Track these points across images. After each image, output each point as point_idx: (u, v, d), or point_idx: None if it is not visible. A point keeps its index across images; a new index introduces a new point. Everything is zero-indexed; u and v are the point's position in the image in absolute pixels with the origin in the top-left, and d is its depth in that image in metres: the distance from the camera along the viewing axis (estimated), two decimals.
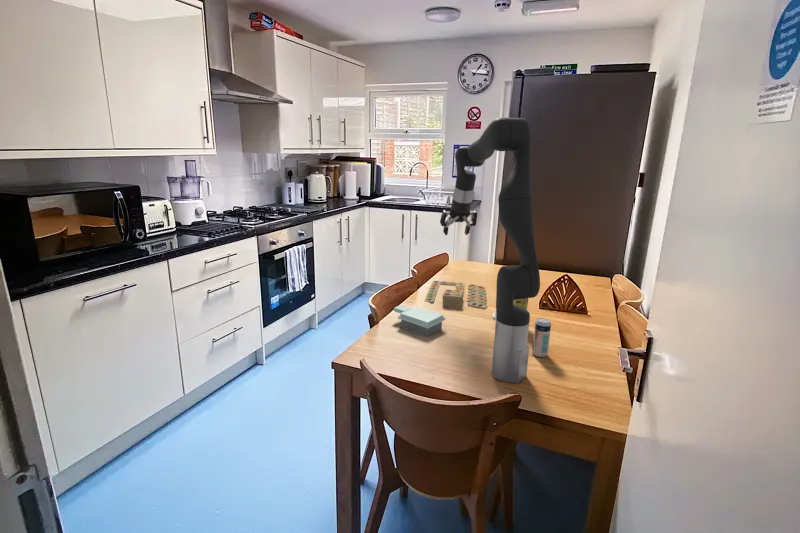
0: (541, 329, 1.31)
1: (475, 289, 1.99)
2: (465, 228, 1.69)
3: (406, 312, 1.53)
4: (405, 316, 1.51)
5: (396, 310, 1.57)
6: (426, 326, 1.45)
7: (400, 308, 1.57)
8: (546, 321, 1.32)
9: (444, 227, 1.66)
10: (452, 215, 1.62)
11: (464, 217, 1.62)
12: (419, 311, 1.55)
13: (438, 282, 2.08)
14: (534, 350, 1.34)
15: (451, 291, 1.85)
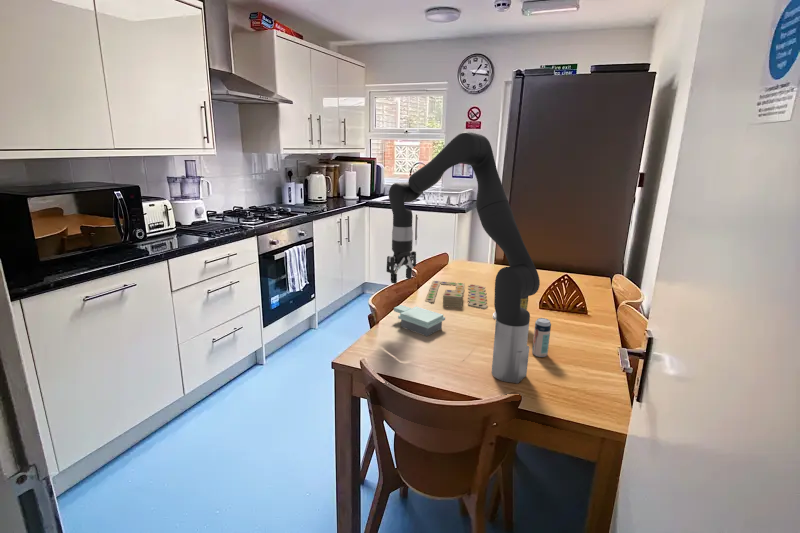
0: (541, 329, 1.31)
1: (475, 289, 1.99)
2: (406, 272, 1.58)
3: (406, 312, 1.53)
4: (405, 316, 1.51)
5: (396, 310, 1.57)
6: (426, 326, 1.45)
7: (400, 308, 1.57)
8: (546, 321, 1.32)
9: (391, 275, 1.51)
10: (398, 258, 1.50)
11: (408, 258, 1.53)
12: (419, 311, 1.55)
13: (438, 282, 2.08)
14: (534, 350, 1.34)
15: (451, 291, 1.85)
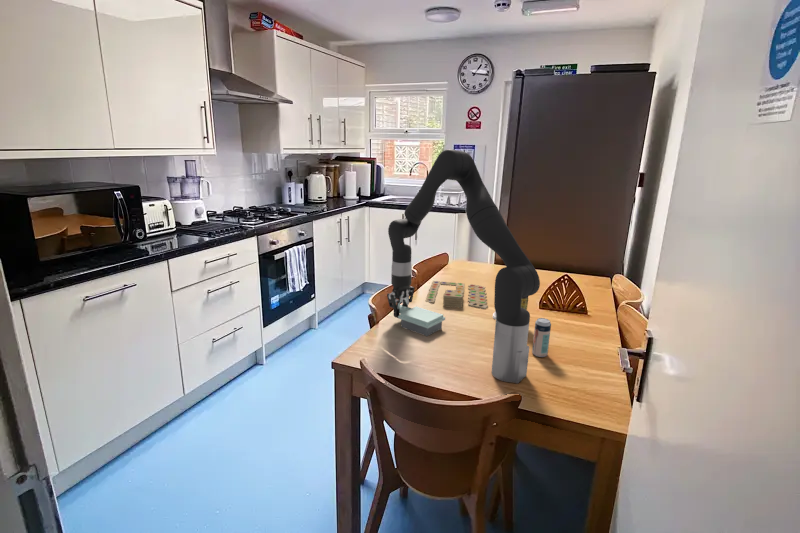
0: (541, 329, 1.31)
1: (475, 289, 1.99)
2: None
3: (406, 312, 1.53)
4: (405, 316, 1.51)
5: None
6: (426, 326, 1.45)
7: (400, 308, 1.57)
8: (546, 321, 1.32)
9: (394, 310, 1.56)
10: (397, 294, 1.54)
11: (407, 291, 1.57)
12: (419, 311, 1.55)
13: (438, 282, 2.08)
14: (534, 350, 1.34)
15: (451, 291, 1.85)
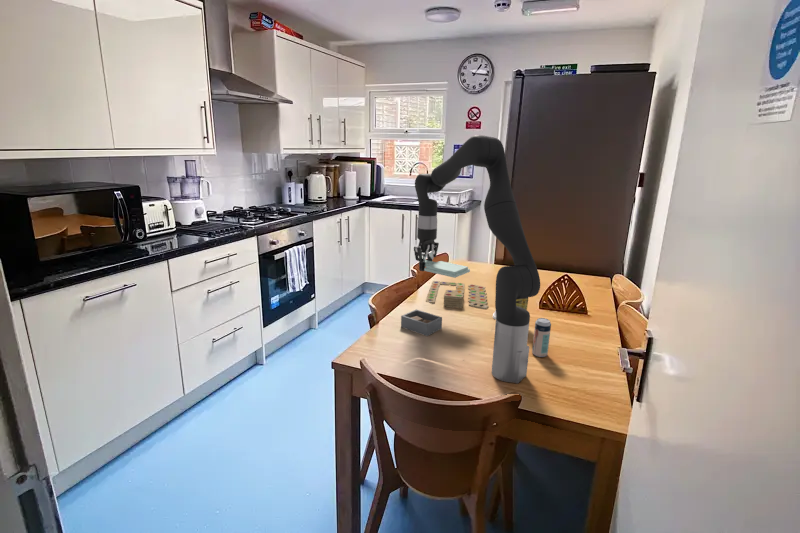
0: (541, 329, 1.31)
1: (475, 289, 1.99)
2: None
3: (432, 265, 1.58)
4: (431, 268, 1.56)
5: None
6: (453, 276, 1.50)
7: (425, 262, 1.62)
8: (546, 321, 1.32)
9: (420, 263, 1.61)
10: (424, 248, 1.59)
11: (432, 246, 1.61)
12: (444, 264, 1.60)
13: (438, 282, 2.08)
14: (534, 350, 1.34)
15: (452, 291, 1.85)
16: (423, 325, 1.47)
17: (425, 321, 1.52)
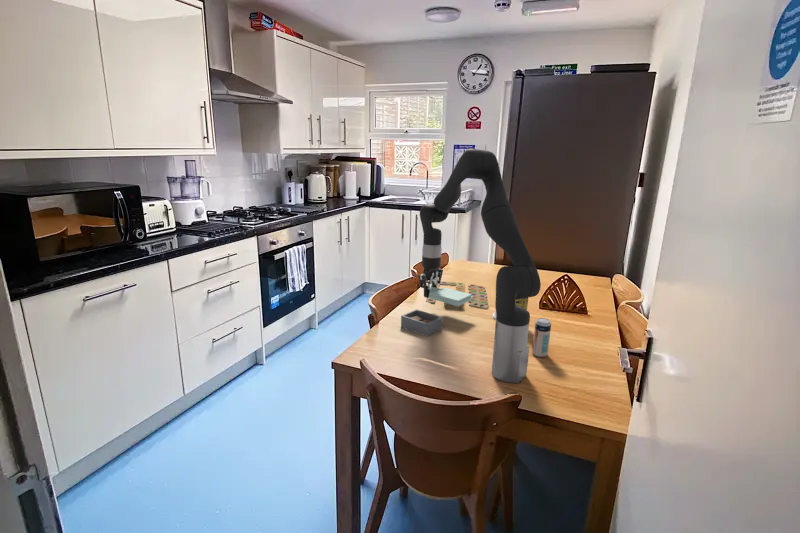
0: (541, 329, 1.31)
1: (475, 289, 1.98)
2: None
3: (436, 292, 1.63)
4: (435, 295, 1.61)
5: None
6: (456, 304, 1.54)
7: (430, 289, 1.67)
8: (546, 321, 1.32)
9: (424, 290, 1.66)
10: (428, 275, 1.63)
11: (437, 273, 1.66)
12: (448, 291, 1.64)
13: None
14: (534, 350, 1.34)
15: None
16: (423, 325, 1.47)
17: (425, 321, 1.52)
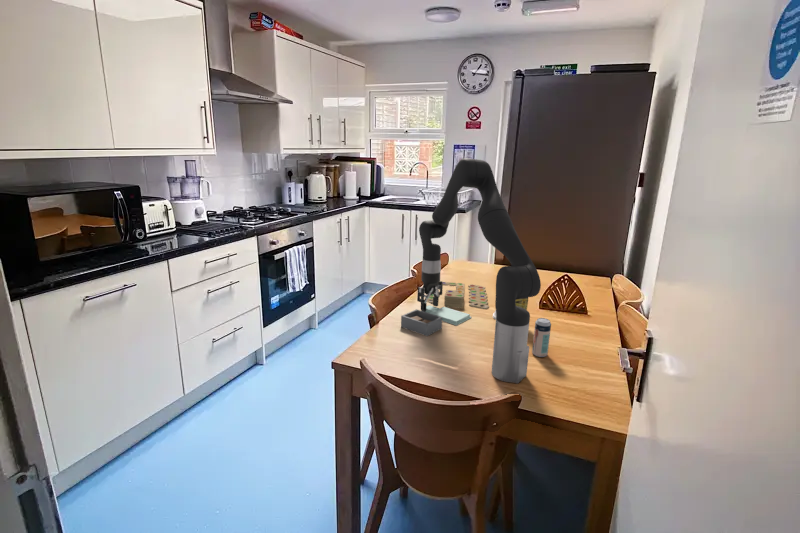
0: (541, 329, 1.31)
1: (475, 289, 1.98)
2: (433, 300, 1.73)
3: (435, 312, 1.65)
4: None
5: None
6: None
7: (429, 308, 1.69)
8: (546, 321, 1.32)
9: (421, 304, 1.66)
10: (427, 289, 1.65)
11: (436, 288, 1.68)
12: (447, 311, 1.66)
13: None
14: (534, 350, 1.34)
15: (452, 291, 1.85)
16: (423, 325, 1.47)
17: (425, 321, 1.52)
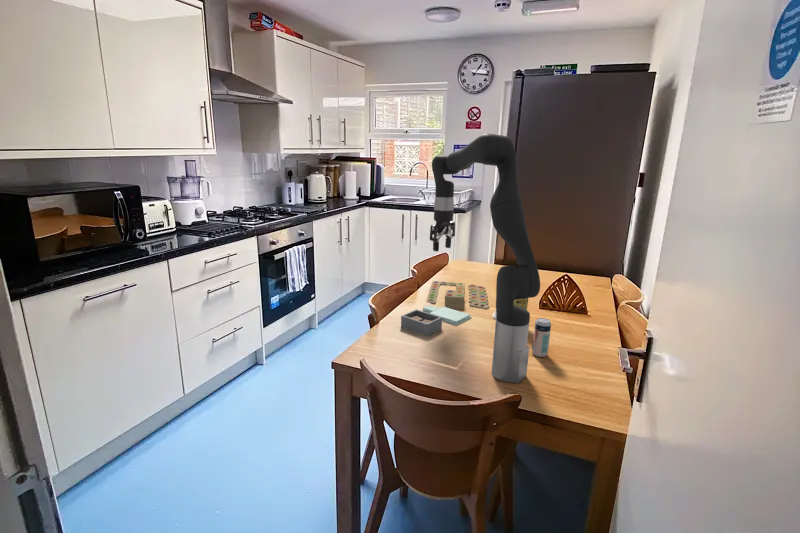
0: (541, 329, 1.31)
1: (475, 289, 1.98)
2: (445, 242, 1.68)
3: (435, 312, 1.65)
4: None
5: (425, 310, 1.69)
6: None
7: (429, 308, 1.69)
8: (546, 321, 1.32)
9: (434, 243, 1.61)
10: (440, 227, 1.60)
11: (449, 227, 1.63)
12: (447, 311, 1.66)
13: (438, 282, 2.08)
14: (534, 350, 1.34)
15: (452, 291, 1.84)
16: (423, 325, 1.47)
17: (425, 321, 1.52)
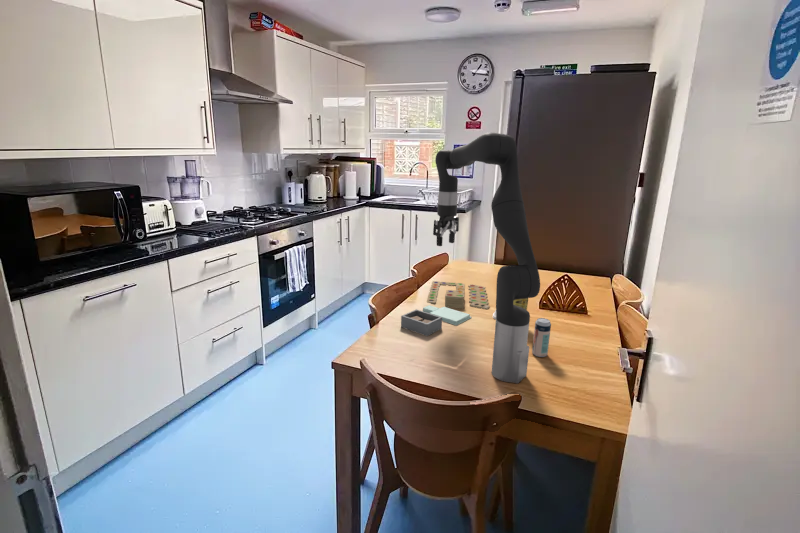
0: (541, 329, 1.31)
1: (476, 289, 1.98)
2: (449, 237, 1.68)
3: (435, 312, 1.65)
4: None
5: (425, 310, 1.69)
6: None
7: (429, 308, 1.69)
8: (546, 321, 1.32)
9: (437, 238, 1.61)
10: (444, 222, 1.60)
11: (452, 222, 1.63)
12: (447, 311, 1.66)
13: (438, 283, 2.08)
14: (534, 350, 1.34)
15: (453, 292, 1.84)
16: (423, 325, 1.47)
17: (425, 321, 1.52)
